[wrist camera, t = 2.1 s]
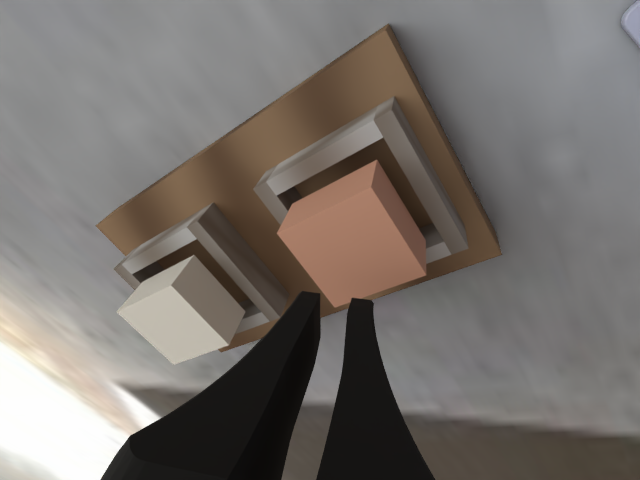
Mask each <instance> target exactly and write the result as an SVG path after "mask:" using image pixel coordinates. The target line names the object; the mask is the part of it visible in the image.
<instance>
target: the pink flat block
mask: <svg viewBox="0 0 640 480" xmlns="http://www.w3.org/2000/svg"><path fill="white" fill-rule="evenodd" d="M277 234H278V236H279V237H280V238H281V239H282V241H283V242H284V243H285V245H286V246H287V247H288V248H289V250H290V251H291V252H292V254H293V255H294V256H295V257H296V259H297V260H298V261H299V263H300V264H301V265H302V266H303V268H304V269H305V270H306V272H307V273H308V274H309V275H310V277H311V278H312V279H313V281H314V282H315V283H316V284H317V286H318V287H319V288H320V290H321V291H322V292H323V293H324V295H325V296H326V297H327V298H328V300H329V301H330V302H331V304H332V305H333V306H334V307H338V306H341V305H344V304H347V303H349V302H351V298H359V299H361V298H363V297H366V296H369V295H372V294H375V293H378V292H380V291H383V290H386V289H389V288H392V287H394V286H397V285H400V284H403V283H406V282H409V281H411V280H414V279H417V278H420V277H423V276H425V275H426V240H425V238H424V237H423V235H422V233H421V232H420V230H419V228H418V227H417V225H416V223H415V222H414V220H413V218H412V217H411V215H410V213H409V212H408V210H407V208H406V207H405V205H404V203H403V202H402V200H401V198H400V197H399V195H398V193H397V192H396V190H395V188H394V187H393V185H392V183H391V182H390V180H389V178H388V177H387V175H386V173H385V172H384V170H383V169H382V167H381V165H380V164H379V162H378V160H375V161H373V162H371V163H369V164H367V165H366V166H364V167H362V168H360V169H358V170H356V171H354V172H352V173H350V174H348V175H346V176H344V177H343V178H341V179H339V180H337V181H335V182H333V183H331V184H329V185H327V186H325V187H323V188H321V189H319V190H318V191H316V192H314V193H312V194H310V195H308V196H306V197H304V198H302V199H300V200H298V201H296V202H295V203H293V204H292V205H291V207H290V209H289V211H288V213H287V215H286V217H285V219H284V220H283V222H282V224H281V226H280V228H279V230H278V232H277Z"/></svg>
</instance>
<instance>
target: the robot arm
mask: <svg viewBox="0 0 640 480" xmlns="http://www.w3.org/2000/svg"><path fill="white" fill-rule="evenodd" d="M621 25H622V27H623V29H624V30H625V32H626V33H627V34H628V35H629V36H630V37H631V39H632V40H633V41H634V42H635V43H636V44H637V45H638V47H639V48H640V0H637V1H636V2H635V3H634V4H633V5H631V6H630V7H629V8H628V9H627V10H626V11H625V13H624V14H623V17H622V19H621ZM373 305H374V303H373V302H372V301H371V300H367V299H359V298H351V302H350V305H349V309H348V313H347V324H346V336H345V348H344V360H343V368H342V375H341V380H340V384H339V389H338V393H337V398H336V402H335V407H334V411H333V415H332V420H331V424H330V428H329V432H328V436H327V440H326V444H325V448H324V452H323V456H322V460H321V464H320V468H319V471H318V475H317V479H316V480H435V478H434V477H433V475H432V473H431V472H430V470H429V468H428V466H427V464H426V463H425V461H424V459H423V457H422V455H421V454H420V452H419V450H418V448H417V446H416V444H415V442H414V440H413V438H412V436H411V434H410V432H409V430H408V428H407V426H406V424H405V421H404V419H403V417H402V415H401V412H400V410H399V408H398V405H397V403H396V400H395V398H394V395H393V392H392V390H391V387H390V384H389V381H388V378H387V375H386V372H385V369H384V366H383V362H382V359H381V355H380V351H379V346H378V342H377V338H376V332H375V326H374V317H373ZM319 341H320V293H314V292H307V291H301V292H300V293H299V294H298V295H297V297H296V298H295V300H294V301H293V302H292V304H291V305H290V306H289V308H288V309H287V310H286V311H285V313H284V314H283V315H282V316H281V318H280V319H279V320H278V321H277V322H276V323H275V325H274V326H273V327H272V328H271V329H270V330H269V331H268V333H267V334H266V335H265V336H264V337H263V338H262V339H261V340H260V341H259V342H258V343H257V344H256V345H255V346H254V347H253V348H252V349H251V350H250V351H249V352H248V353H247V354H246V355H245V356H244V357H243V358H242V359H241V360H240V361H239V362H238V363H237V364H235V365H234V366H233V367H232V368H231V369H230V370H229V371H227V372H226V373H225V374H224V375H223V376H221V377H220V378H219V379H218V380H216V381H215V382H214V383H212V384H211V385H210V386H209V387H207V388H206V389H205V390H203V391H202V392H201V393H199V394H198V395H196V396H195V397H193V398H192V399H190V400H189V401H187V402H186V403H184V404H183V405H181V406H180V407H178V408H177V409H175V410H174V411H172V412H171V413H169V414H168V415H166V416H164V417H163V418H161V419H159V420H157V421H156V422H154V423H152V424H150V425H149V426H147V427H145V428H143V429H142V430H140V431H138V432H136V433H134V434H133V435H131V436H130V437H129V438H128V439H127V441H126V442H125V444H124V445H123V446H122V447H121V449H120V450H119V451H118V453H117V454H116V456H115V457H114V459H113V460H112V462H111V464H110V465H109V467H108V468H107V470H106V472H105V473H104V475H103V477H102V478H101V480H281V478H282V473H283V469H284V465H285V460H286V456H287V452H288V447H289V443H290V439H291V435H292V432H293V429H294V425H295V422H296V419H297V416H298V413H299V410H300V407H301V404H302V401H303V398H304V395H305V392H306V389H307V386H308V383H309V380H310V377H311V374H312V371H313V368H314V365H315V360H316V356H317V351H318V346H319Z"/></svg>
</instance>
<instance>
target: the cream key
mask: <svg viewBox="0 0 640 480" xmlns="http://www.w3.org/2000/svg"><path fill="white" fill-rule="evenodd" d="M117 313H118V314H119V315H120V316H122V317H123V318H124V319H125V320H126V321H127V322H128V323H129V324H130V325H131V326H132V327H133V328H134V329H136V330H137V331H138V332H139V333H140V334H141V335H142V336H143V337H144V338H145V339H146V340H147V341H148V342H150V343H151V344H152V345H153V346H154V347H155V348H156V349H157V350H158V351H159V352H160V353H161V354H162V355H164V356H165V357H166V358H167V359H168V360H169V361H170V362H171V363H172V364H173V365H174V364H177V363H180V362H183V361H186V360H189V359H191V358H194V357H197V356H200V355H203V354H205V353H208V352H211V351H214V350H217V349H220V348H222V347H225V346H228V345H229V344H230V342H231V340H232V338H233V336H234V334H235V332H236V330H237V328H238V326H239V324H240V322H241V320H242V318H243V316H244V314H245V310H244V309H243V308H242V307H241V306H240V305H239V304H238V303H237V302H236V300H235V299H234V298H233V297H232V296H231V295H230V294H229V293H228V292H227V290H226V289H225V288H224V287H223V286H222V285H221V284H220V283H219V282H218V281H217V279H216V278H215V277H214V276H213V275H212V274H211V273H210V272H209V271H208V269H207V268H206V267H205V266H204V265H203V264H202V263H201V262H200V261H199V259H198V258H197V257H196V256H195V255H193V256H191V257H189V258H187V259H185V260H183V261H181V262H179V263H177V264H176V265H174V266H172V267H170V268H168V269H166V270H164V271H162V272H160V273H158V274H156V275H154V276H152V277H151V278H149V279H147V280H145V281H143V282H142V283H141V284H140V285H139V286H138V288H137V289H136V290H135V291H134V292H133V293H132V294H131V296H130V297H129V298H128V299H127V300H126V301H125V303H124V304H123V305H122V306H121V307H120V308H119V310H118V311H117Z"/></svg>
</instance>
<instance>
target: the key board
mask: <svg viewBox="0 0 640 480" xmlns="http://www.w3.org/2000/svg"><path fill="white" fill-rule="evenodd" d="M375 160H378V162H379V164H380V165H381V167H382V169H383V170H384V172H385V173H386V175H387V177H388V178H389V180H390V182H391V183H392V185H393V187H394V188H395V190H396V192H397V193H398V195H399V197H400V198H401V200H402V202H403V203H404V205H405V207H406V208H407V210H408V212H409V213H410V215H411V217H412V218H413V220H414V222H415V223H416V225H417V227H418V228H419V230H420V232H421V233H422V235H423V237H424V238H425V240H426V275H425V276H423V277H420V278H417V279H414V280H411V281H409V282H406V283H403V284H400V285H397V286H394V287H392V288H389V289H386V290H383V291H380V292H378V293H375V294H372V295H369V296H366V297H363V298H361V299H367V300H373V299H376V298H379V297H382V296H385V295H387V294H390V293H393V292H396V291H399V290H402V289H405V288H408V287H410V286H413V285H416V284H419V283H422V282H425V281H428V280H431V279H433V278H436V277H439V276H442V275H445V274H448V273H451V272H454V271H456V270H459V269H462V268H465V267H468V266H471V265H474V264H477V263H479V262H482V261H485V260H488V259H491V258H494V257H497V256H500V255H502V253H501V249H500V246H499V242H498V239H497V235H496V232H495V230H494V228H493V226H492V224H491V222H490V220H489V219H488V217H487V215H486V213H485V211H484V209H483V207H482V205H481V203H480V201H479V199H478V197H477V195H476V193H475V191H474V189H473V187H472V185H471V183H470V181H469V179H468V177H467V176H466V174H465V172H464V170H463V168H462V166H461V164H460V162H459V160H458V158H457V156H456V154H455V152H454V150H453V148H452V146H451V144H450V142H449V140H448V138H447V136H446V134H445V133H444V131H443V129H442V127H441V125H440V123H439V121H438V119H437V117H436V115H435V113H434V111H433V109H432V107H431V105H430V103H429V101H428V99H427V97H426V95H425V93H424V91H423V89H422V88H421V86H420V84H419V82H418V80H417V78H416V76H415V74H414V72H413V70H412V68H411V66H410V64H409V62H408V60H407V58H406V56H405V54H404V52H403V50H402V48H401V46H400V45H399V43H398V41H397V39H396V37H395V35H394V33H393V31H392V29H391V27H390V25H389V24H387V25H386V26H384V27H383V28H381V29H380V30H378V31H377V32H375V33H374V34H372V35H371V36H369V37H368V38H367V39H365V40H364V41H362V42H361V43H359V44H358V45H356V46H355V47H353V48H352V49H350V50H349V51H347V52H346V53H345V54H343V55H342V56H340V57H339V58H337V59H336V60H334V61H333V62H331V63H330V64H328V65H327V66H325V67H324V68H323V69H321V70H320V71H318V72H317V73H315V74H314V75H312V76H311V77H309V78H308V79H306V80H305V81H303V82H302V83H300V84H299V85H298V86H296V87H295V88H293V89H292V90H290V91H289V92H287V93H286V94H284V95H283V96H281V97H280V98H278V99H277V100H276V101H274V102H273V103H271V104H270V105H268V106H267V107H265V108H264V109H262V110H261V111H259V112H258V113H256V114H255V115H254V116H252V117H251V118H249V119H248V120H246V121H245V122H243V123H242V124H240V125H239V126H237V127H236V128H234V129H233V130H232V131H230V132H229V133H227V134H226V135H224V136H223V137H221V138H220V139H218V140H217V141H215V142H214V143H212V144H211V145H210V146H208V147H207V148H205V149H204V150H202V151H201V152H199V153H198V154H196V155H195V156H193V157H192V158H190V159H189V160H187V161H186V162H185V163H183V164H182V165H180V166H179V167H177V168H176V169H174V170H173V171H171V172H170V173H168V174H167V175H165V176H164V177H163V178H161V179H160V180H158V181H157V182H155V183H154V184H152V185H151V186H149V187H148V188H146V189H145V190H143V191H142V192H141V193H139V194H138V195H136V196H135V197H133V198H132V199H130V200H129V201H127V202H126V203H124V204H123V205H121V206H120V207H119V208H117V209H116V210H114V211H113V212H112V213H111V214H109V215H108V216H107V217H106V218H105V219H103V220H102V221H101V222H100V223H98V224H97V225H96V227H97V228H98V229H99V230H100V231H101V232H102V233H103V234H104V235H105V236H106V237H107V238H108V239H109V240H110V241H111V242H112V243H113V244H114V245H115V246H116V247H117V248H118V249H119V250H120V251H121V252H122V253H123V254H124V255H125V256H126V257H125V258H124V259H123V260H122V261H121V262H120V263H119V264H118V265H117V266H116V267H115V268H114V270H115V271H116V272H117V273H118V274H119V275H120V276H121V277H122V278H123V279H124V280H125V281H126V282H127V283H128V284H129V285H130V286H131V287H132V288H133V289H134V290H136V289H137V288H138V286H139V285H140V284H141V283H142V282H143V281H145V280H147V279H149V278H151V277H152V276H154V275H156V274H158V273H160V272H162V271H164V270H166V269H168V268H170V267H172V266H174V265H176V264H177V263H179V262H181V261H183V260H185V259H187V258H189V257H191V256H193V255H195V256H196V257H197V258H198V259H199V261H200V262H201V263H202V264H203V265H204V266H205V267H206V268H207V269H208V271H209V272H210V273H211V274H212V275H213V276H214V277H215V278H216V279H217V281H218V282H219V283H220V284H221V285H222V286H223V287H224V288H225V289H226V290H227V292H228V293H229V294H230V295H231V296H232V297H233V298H234V299H235V300H236V302H237V303H238V304H239V305H240V306H241V307H242V308H243V309H244V310H245V314H244V316H243V318H242V320H241V322H240V324H239V326H238V328H237V330H236V332H235V334H234V336H233V338H232V340H231V342H230V344H229V345H228V346H225V347H222V348H220V349H218V350H219V351H220V352H223V351H226V350H229V349H232V348H235V347H238V346H241V345H244V344H246V343H249V342H252V341H255V340H258V339H261V338H263V337H264V336H265V335H266V334H267V333H268V331H269V330H270V329H271V328H272V327H273V326H274V325H275V323H276V322H277V321H278V320H279V319H280V318H281V316H282V315H283V314H284V313H285V311H286V310H287V309H288V308H289V306H290V305H291V304H292V302H293V301H294V300H295V298H296V297H297V295H298V294H299V293H300V292H301V291H307V292H314V293H320V318H321V317H324V316H327V315H330V314H333V313H336V312H339V311H341V310H344V309H347V308H349V305H350V302H349V303H347V304H344V305H341V306H338V307H334V306H333V305H332V304H331V302H330V301H329V300H328V298H327V297H326V296H325V295H324V293H323V292H322V291H321V290H320V288H319V287H318V286H317V284H316V283H315V282H314V281H313V279H312V278H311V277H310V275H309V274H308V273H307V272H306V270H305V269H304V268H303V266H302V265H301V264H300V263H299V261H298V260H297V259H296V257H295V256H294V255H293V254H292V252H291V251H290V250H289V248H288V247H287V246H286V245H285V243H284V242H283V241H282V239H281V238H280V237H279V236H278V234H277V232H278V230H279V228H280V226H281V224H282V222H283V220H284V219H285V217H286V215H287V213H288V211H289V209H290V207H291V205H292V204H293V203H295V202H296V201H298V200H300V199H302V198H304V197H306V196H308V195H310V194H312V193H314V192H316V191H318V190H319V189H321V188H323V187H325V186H327V185H329V184H331V183H333V182H335V181H337V180H339V179H341V178H343V177H344V176H346V175H348V174H350V173H352V172H354V171H356V170H358V169H360V168H362V167H364V166H366V165H367V164H369V163H371V162H373V161H375Z"/></svg>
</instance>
